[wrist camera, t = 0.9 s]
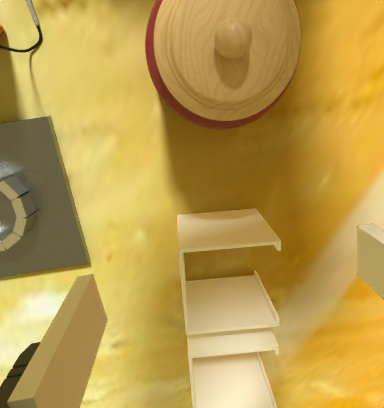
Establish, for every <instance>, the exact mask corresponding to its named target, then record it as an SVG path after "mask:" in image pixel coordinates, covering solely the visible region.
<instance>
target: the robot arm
mask: <svg viewBox="0 0 384 408" xmlns="http://www.w3.org/2000/svg"><path fill="white" fill-rule="evenodd" d="M357 275H358V276H359V277H360V278H361V279H362V280H363V281H365V282H366V283H367V284H368V285H369V286H370V287H371V288H372V289H373V290H374V291H375V292H376V293H377V294H378V295H379V296H380V297H381V298H382V299H384V230H383V229H381V228H380V227H378V226H376V225H375V224H373V223H372V224H366V225H361V226H357ZM106 323H107V317H106V314H105V310H104V307H103V304H102V301H101V298H100V295H99V292H98V289H97V285H96V282H95V279H94V276H93V274H91V275H85V276H79V277H77V279H76V280H75V282H74V284H73V286H72V288H71V289H70V291H69V293H68V295H67V296H66V298H65V300H64V302H63V304H62V305H61V307H60V309H59V311H58V312H57V314H56V316H55V318H54V319H53V321H52V323H51V325H50V327H49V328H48V330H47V332H46V334H45V335H44V337H43V339H42V341H41V342H38V343H33V344H31V345H30V346H29V347H28V348H26V349H25V350H24V351H23V352H22V353H21V354H20V356H19V357H18V359H17V360H16V362H15V364H14V365H13V369H11V370H10V372H9V373H8V375H7V379H5V380H4V381H3V383H2V385H1V386H0V408H80V406H81V402H82V399H83V396H84V393H85V390H86V387H87V383H88V380H89V377H90V374H91V371H92V367H93V364H94V361H95V358H96V355H97V352H98V348H99V345H100V342H101V339H102V336H103V333H104V329H105V326H106Z"/></svg>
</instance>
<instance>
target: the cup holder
mask: <svg viewBox="0 0 384 408" xmlns="http://www.w3.org/2000/svg"><path fill="white" fill-rule="evenodd" d="M89 261H90V258H89V254H88V251H87V247H86V243H85V240H84V236H83V232H82V229H81V225H80V222H79V218H78V214H77V211H76V207H75V203H74V200H73V196H72V192H71V189H70V185H69V182H68V178H67V174H66V171H65V167H64V163H63V160H62V156H61V152H60V149H59V145H58V142H57V138H56V134H55V131H54V127H53V123H52V120H51V116H48V117H41V118H34V119H27V120H20V121H14V122H7V123H0V277H2V276H9V275H16V274H23V273H29V272H36V271H43V270H49V269H56V268H63V267H69V266H76V265H83V264H88V263H89Z"/></svg>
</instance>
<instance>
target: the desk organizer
mask: <svg viewBox="0 0 384 408" xmlns="http://www.w3.org/2000/svg"><path fill="white" fill-rule="evenodd" d="M177 222H178V257H179V267H180V278H181V288H182V299H183V309H184V320H185V330H186V335H187V347H188V362H189V373H190V383H191V394H192V404H193V408H278V407H277V404H276V401H275V398H274V395H273V392H272V390H271V387H270V384H269V381H268V378H267V375H266V372H265V369H264V366H263V363H262V360H261V357H260V354H259V352H260V351H270V350H274V352H275V354H276V355H279V346H278V344H277V341H276V339H275V337H274V334H273V332H272V330H271V327H276V326H279V322H280V318H279V316H278V314H277V312H276V310H275V308H274V306H273V304H272V302H271V300H270V297H269V295H268V293H267V291H266V289H265V287H264V285H263V283H262V281H261V279H260V277H259V275H258V273H257V271H254V275H248V276H237V277H226V278H215V279H204V280H193V281H186V274H185V263H184V253H186V252H197V251H209V250H220V249H232V248H243V247H254V246H266V245H274V246H275V248H276V249H277V251H279V250H281V240H280V239H279V237H278V236H277V235H276V233H275V232H274V231H273V230H272V228H271V227H270V226H269V224H268V223H267V222H266V220H265V219H264V218H263V217H262V215H261V214H260V213H259V211H258V210H257V209H256V208H252V209H241V210H229V211H217V212H205V213H193V214H181V215H177Z"/></svg>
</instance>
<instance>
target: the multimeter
mask: <svg viewBox="0 0 384 408" xmlns="http://www.w3.org/2000/svg"><path fill="white" fill-rule="evenodd" d="M26 1H27V4H28V7H29V10H30V12H31V15H32V18H33V21H34V23H35V25H36V26H37V29H38V32H39V41H38V42H37V43H36V44H35V45H34V46H32V47H31V48H29V49H26V50H17V49H12V48H8V47H5V46H1V45H0V48H2V49H6V50H10V51H14V52H29V51H31V50H33V49H34V48H36V47H37V46H38V45H39V44H40V43H41V40H42V34H41V30H40V27H39V22H38V19H37V16H36V13H35V10H34V8H33V5H32V2H31V0H26ZM3 30H4V29H3V27H2V26H1V25H0V35H1V33H2V32H3Z"/></svg>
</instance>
